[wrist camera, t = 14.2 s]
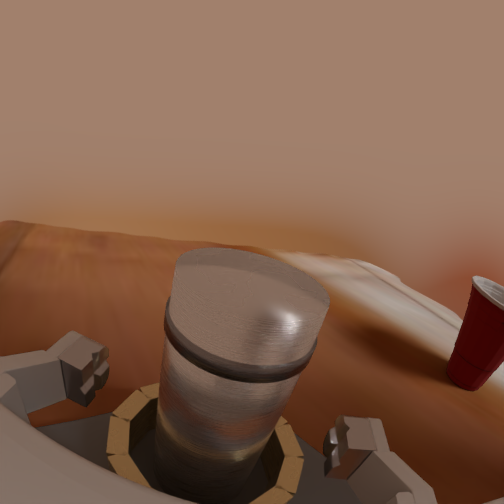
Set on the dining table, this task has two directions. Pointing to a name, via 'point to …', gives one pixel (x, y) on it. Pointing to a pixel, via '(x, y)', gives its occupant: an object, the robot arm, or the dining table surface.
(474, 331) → the plastic cup
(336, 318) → the dining table surface
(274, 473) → the brass collar
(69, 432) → the rubber mat
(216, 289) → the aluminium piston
